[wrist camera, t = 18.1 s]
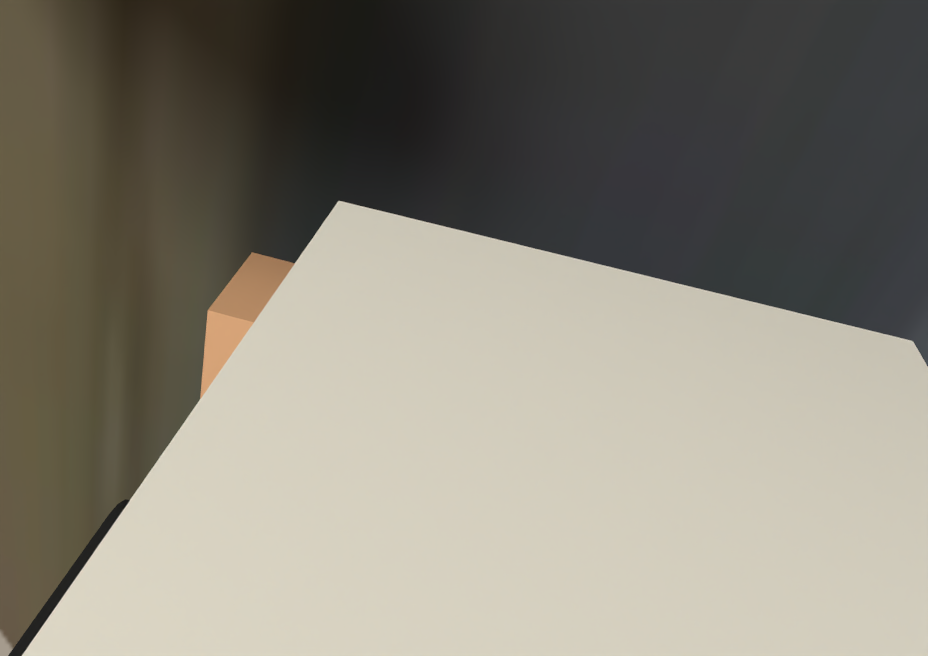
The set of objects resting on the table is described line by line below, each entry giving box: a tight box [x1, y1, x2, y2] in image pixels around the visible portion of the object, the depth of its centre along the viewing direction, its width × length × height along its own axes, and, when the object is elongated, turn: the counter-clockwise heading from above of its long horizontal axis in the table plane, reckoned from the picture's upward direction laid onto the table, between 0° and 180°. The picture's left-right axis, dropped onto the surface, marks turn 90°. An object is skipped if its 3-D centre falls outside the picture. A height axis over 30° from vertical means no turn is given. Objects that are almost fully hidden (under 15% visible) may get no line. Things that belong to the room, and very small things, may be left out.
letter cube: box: [200, 252, 295, 399], centre depth 28 cm, size 4×4×4 cm
